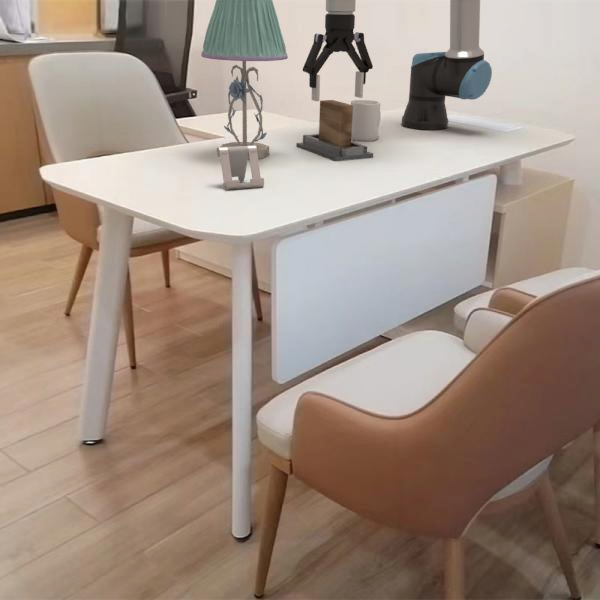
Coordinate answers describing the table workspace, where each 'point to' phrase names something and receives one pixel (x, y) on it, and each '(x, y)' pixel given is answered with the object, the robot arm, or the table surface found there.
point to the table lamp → (244, 52)
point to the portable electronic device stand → (239, 166)
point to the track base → (333, 149)
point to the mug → (365, 120)
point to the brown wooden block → (336, 122)
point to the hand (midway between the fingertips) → (337, 99)
